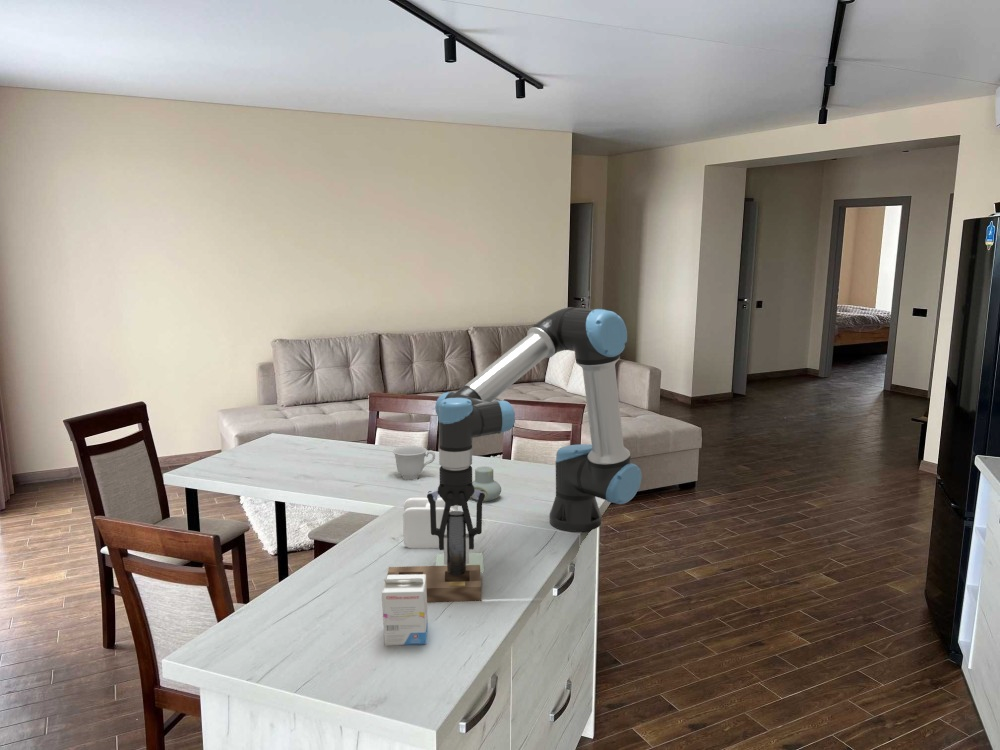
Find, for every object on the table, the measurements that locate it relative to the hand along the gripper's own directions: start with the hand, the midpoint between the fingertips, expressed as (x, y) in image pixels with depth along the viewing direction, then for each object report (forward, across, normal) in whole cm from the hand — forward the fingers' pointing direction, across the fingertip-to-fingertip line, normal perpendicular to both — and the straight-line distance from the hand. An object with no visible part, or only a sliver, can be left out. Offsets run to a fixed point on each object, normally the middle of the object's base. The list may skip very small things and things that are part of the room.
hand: (456, 561), depth 172 cm
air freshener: (+7, -9, -65) cm, 66 cm away
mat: (+7, -1, -14) cm, 16 cm away
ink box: (+7, +10, +20) cm, 24 cm away
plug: (+2, 0, 0) cm, 2 cm away
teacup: (+7, +15, -89) cm, 91 cm away
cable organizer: (+7, +7, -29) cm, 31 cm away
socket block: (+7, +5, 0) cm, 9 cm away
